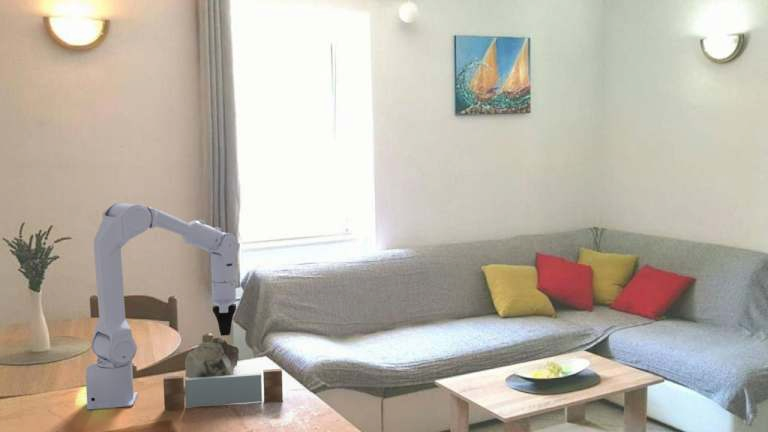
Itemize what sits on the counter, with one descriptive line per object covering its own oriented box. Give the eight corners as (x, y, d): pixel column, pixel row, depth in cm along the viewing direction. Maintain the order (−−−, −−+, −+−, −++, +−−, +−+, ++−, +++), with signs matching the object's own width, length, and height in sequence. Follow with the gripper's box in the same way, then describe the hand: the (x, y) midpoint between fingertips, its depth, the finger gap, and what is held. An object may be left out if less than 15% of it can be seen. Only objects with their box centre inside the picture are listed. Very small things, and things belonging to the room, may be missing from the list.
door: (185, 407, 154) (184, 380, 153) (186, 405, 155) (185, 378, 154) (261, 401, 157) (261, 374, 156) (261, 399, 158) (261, 373, 157)
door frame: (164, 410, 153) (163, 379, 152) (165, 408, 154) (164, 376, 154) (282, 401, 158) (281, 370, 157) (282, 399, 159) (281, 368, 158)
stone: (235, 328, 170) (222, 322, 178) (180, 360, 163) (169, 352, 172) (254, 367, 172) (240, 359, 181) (201, 400, 166) (189, 390, 174)
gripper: (240, 285, 170) (241, 341, 171) (240, 274, 184) (241, 326, 185) (209, 287, 168) (211, 343, 170) (211, 275, 183) (213, 327, 184)
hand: (225, 334), depth 177 cm, fingers closed
